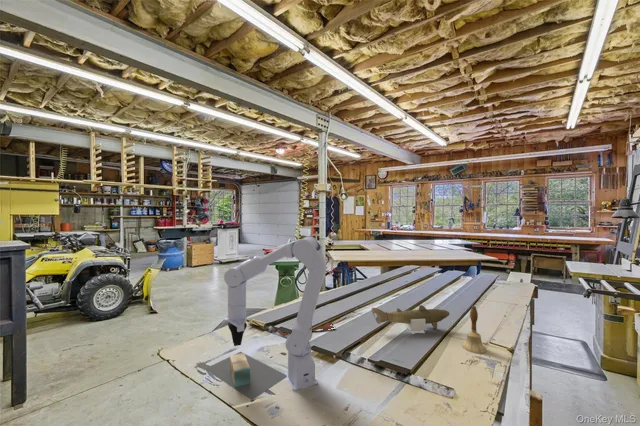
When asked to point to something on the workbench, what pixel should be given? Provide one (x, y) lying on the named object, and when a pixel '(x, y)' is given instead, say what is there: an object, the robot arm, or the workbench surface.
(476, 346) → the hand bell
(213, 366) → the rubber mat
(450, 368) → the workbench surface
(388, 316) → the wood carving
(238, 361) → the beech block
